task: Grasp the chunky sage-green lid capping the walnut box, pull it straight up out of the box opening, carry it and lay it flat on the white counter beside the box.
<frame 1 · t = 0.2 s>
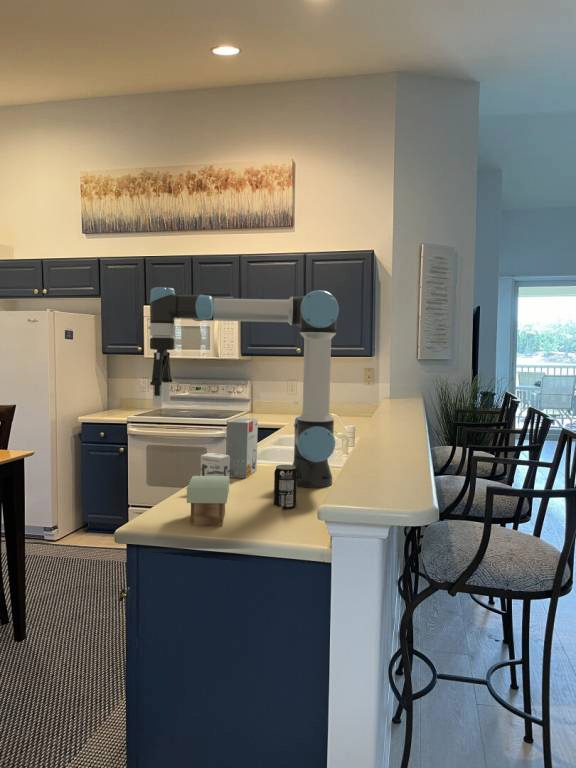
hand: (161, 404, 198), 28 cm above the counter, fingers open, 13 cm apart
beverage can: (285, 507, 183), on the counter
ink box: (214, 491, 201), on the counter
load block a: (209, 516, 169), point 1 cm above the counter, touching crate
crate: (208, 522, 166), on the counter
lid: (208, 496, 165), point 7 cm above the counter, touching crate
hard drive box: (241, 474, 228), on the counter
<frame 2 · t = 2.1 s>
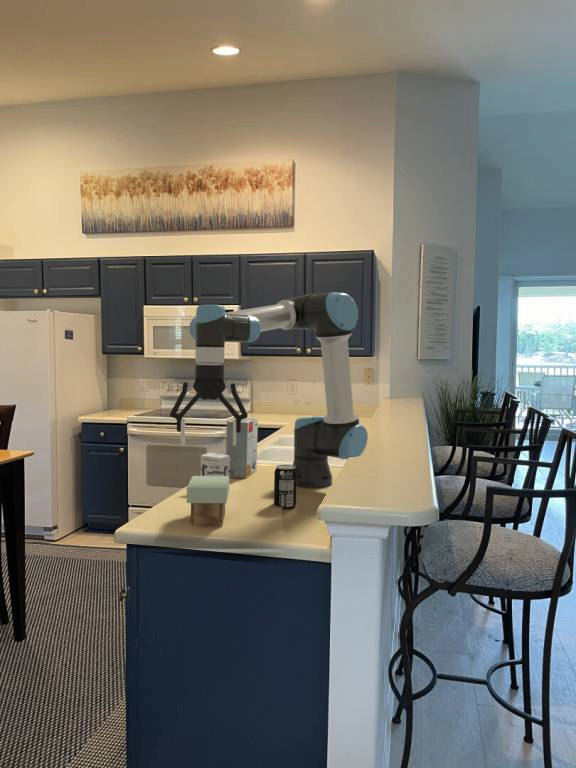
hand: (208, 444, 165), 21 cm above the counter, fingers open, 13 cm apart
nothing on the counter moved.
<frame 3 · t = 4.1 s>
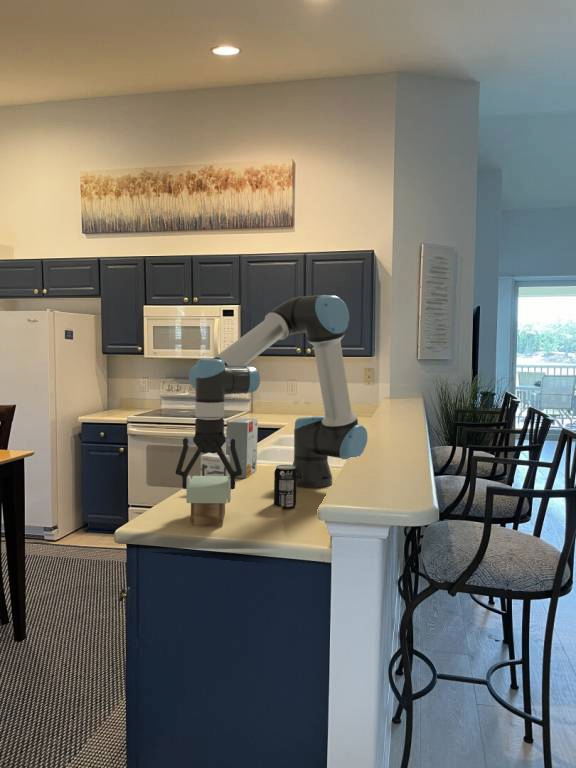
hand: (208, 501, 165), 6 cm above the counter, fingers closed on lid, 10 cm apart
lid: (208, 496, 165), point 7 cm above the counter, touching crate, gripper
everything else where it was.
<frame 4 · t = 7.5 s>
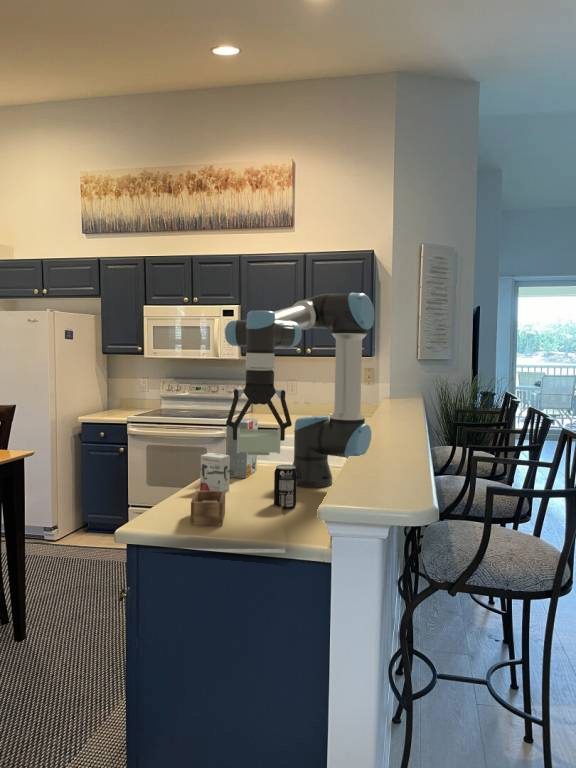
hand: (258, 452, 167), 19 cm above the counter, fingers closed on lid, 10 cm apart
lid: (258, 447, 167), point 20 cm above the counter, touching gripper
everything else where it was.
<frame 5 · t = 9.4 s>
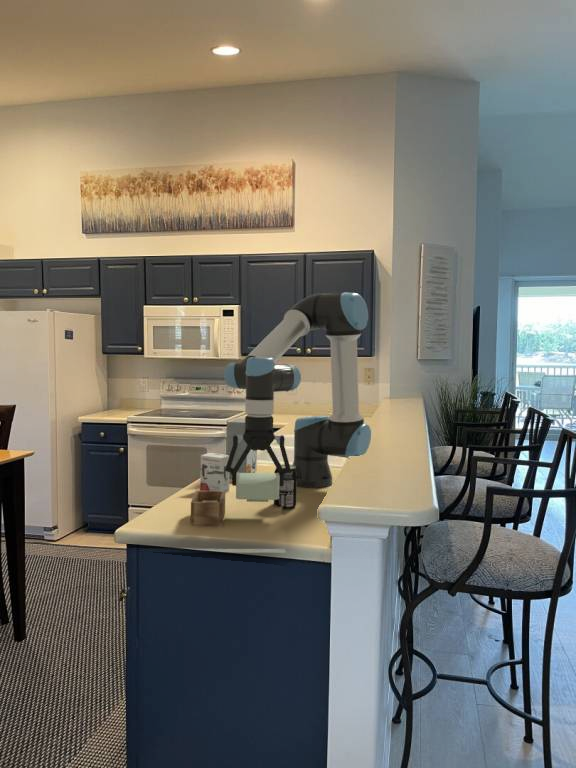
hand: (257, 497, 167), 6 cm above the counter, fingers closed on lid, 10 cm apart
lid: (257, 493, 167), point 8 cm above the counter, touching gripper
everything else where it was.
when the fingers open (1 cm above the counter, at t = 11.1 s): lid drops 2 cm, point 1 cm above the counter.
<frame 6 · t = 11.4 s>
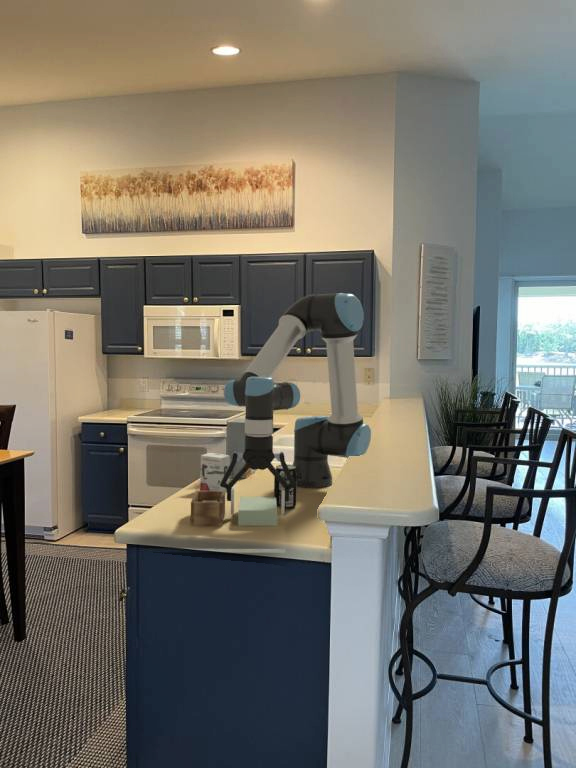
hand: (257, 513, 168), 2 cm above the counter, fingers open, 13 cm apart
lid: (257, 518, 168), point 1 cm above the counter
everything else where it was.
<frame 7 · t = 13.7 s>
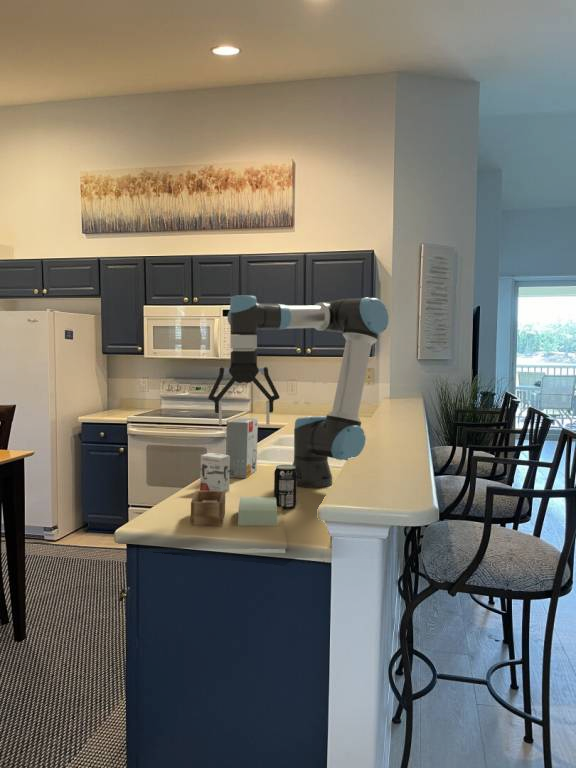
hand: (244, 424, 179), 24 cm above the counter, fingers open, 13 cm apart
nothing on the counter moved.
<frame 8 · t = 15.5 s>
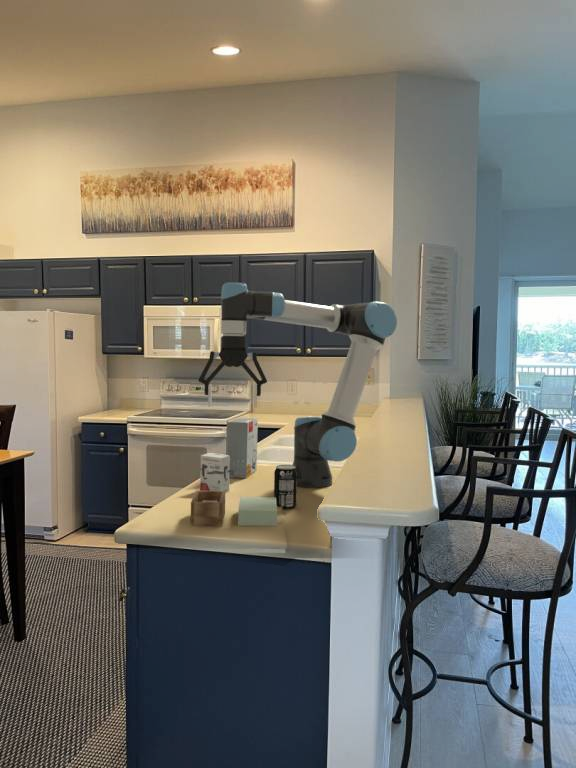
hand: (232, 406, 187), 29 cm above the counter, fingers open, 13 cm apart
nothing on the counter moved.
at the end: lid inside the target area (0.0 cm from its centre), point 0.8 cm above the counter; lid tilted 0°; lid touching counter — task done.
